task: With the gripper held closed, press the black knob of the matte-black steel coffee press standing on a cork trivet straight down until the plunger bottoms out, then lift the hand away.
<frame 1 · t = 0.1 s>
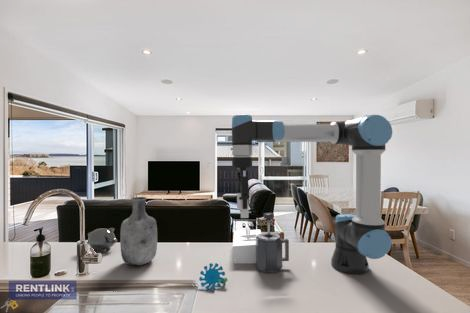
hand: (242, 213, 100), 28 cm above the counter, fingers open, 13 cm apart
piggy bank: (102, 251, 139), on the counter
gear: (213, 286, 101), on the counter
vase: (139, 263, 123), on the counter
tissue box: (248, 254, 133), on the counter, touching carafe, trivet
plunger: (268, 229, 115), point 17 cm above the counter, slide at -0.1 cm
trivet: (268, 269, 116), on the counter
carafe: (268, 267, 116), resting on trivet
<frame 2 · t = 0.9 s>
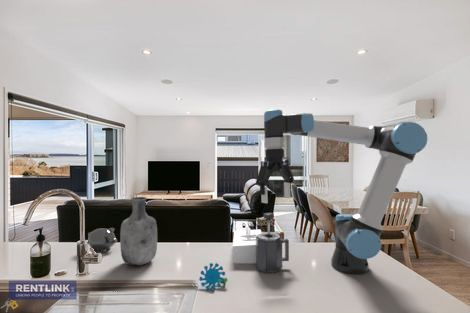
hand: (276, 200, 109), 31 cm above the counter, fingers open, 13 cm apart
nothing on the counter moved.
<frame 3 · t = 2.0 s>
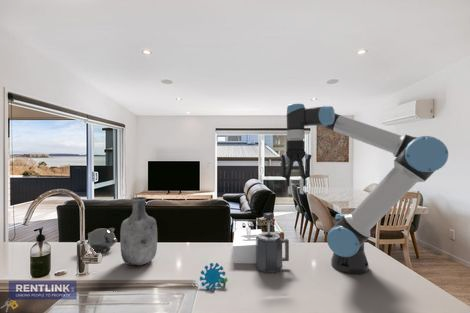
hand: (295, 193, 116), 33 cm above the counter, fingers open, 4 cm apart
nothing on the counter moved.
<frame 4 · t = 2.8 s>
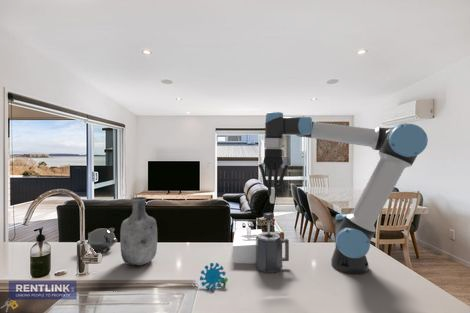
hand: (272, 202, 116), 29 cm above the counter, fingers closed
nothing on the counter moved.
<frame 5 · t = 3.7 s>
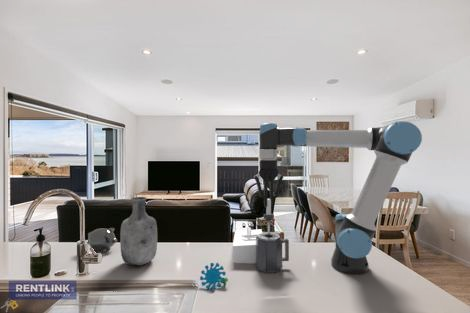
hand: (268, 214, 115), 24 cm above the counter, fingers closed
plunger: (268, 230, 115), point 17 cm above the counter, slide at 0.2 cm, touching gripper
everything else where it was.
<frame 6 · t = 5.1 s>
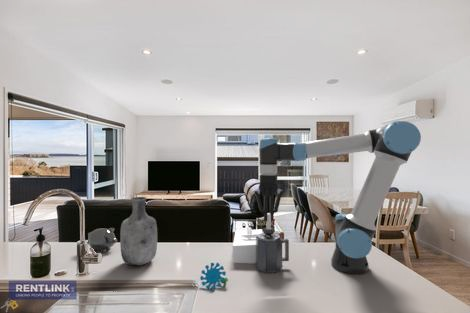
hand: (268, 228, 115), 18 cm above the counter, fingers closed
plunger: (268, 245, 116), point 11 cm above the counter, slide at 6.5 cm, touching gripper
everything else where it was.
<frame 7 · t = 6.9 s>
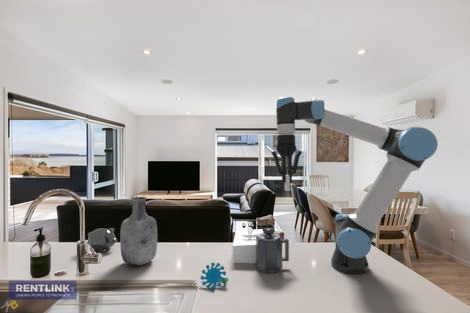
hand: (287, 190, 113), 35 cm above the counter, fingers closed
plunger: (268, 245, 116), point 11 cm above the counter, slide at 6.5 cm
everything else where it was.
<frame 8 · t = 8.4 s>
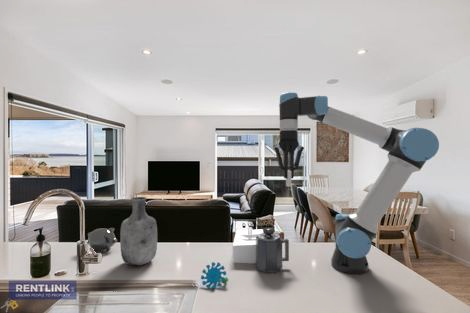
hand: (288, 186, 113), 36 cm above the counter, fingers closed
nothing on the counter moved.
at the end: plunger slide at 6.5 cm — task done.
